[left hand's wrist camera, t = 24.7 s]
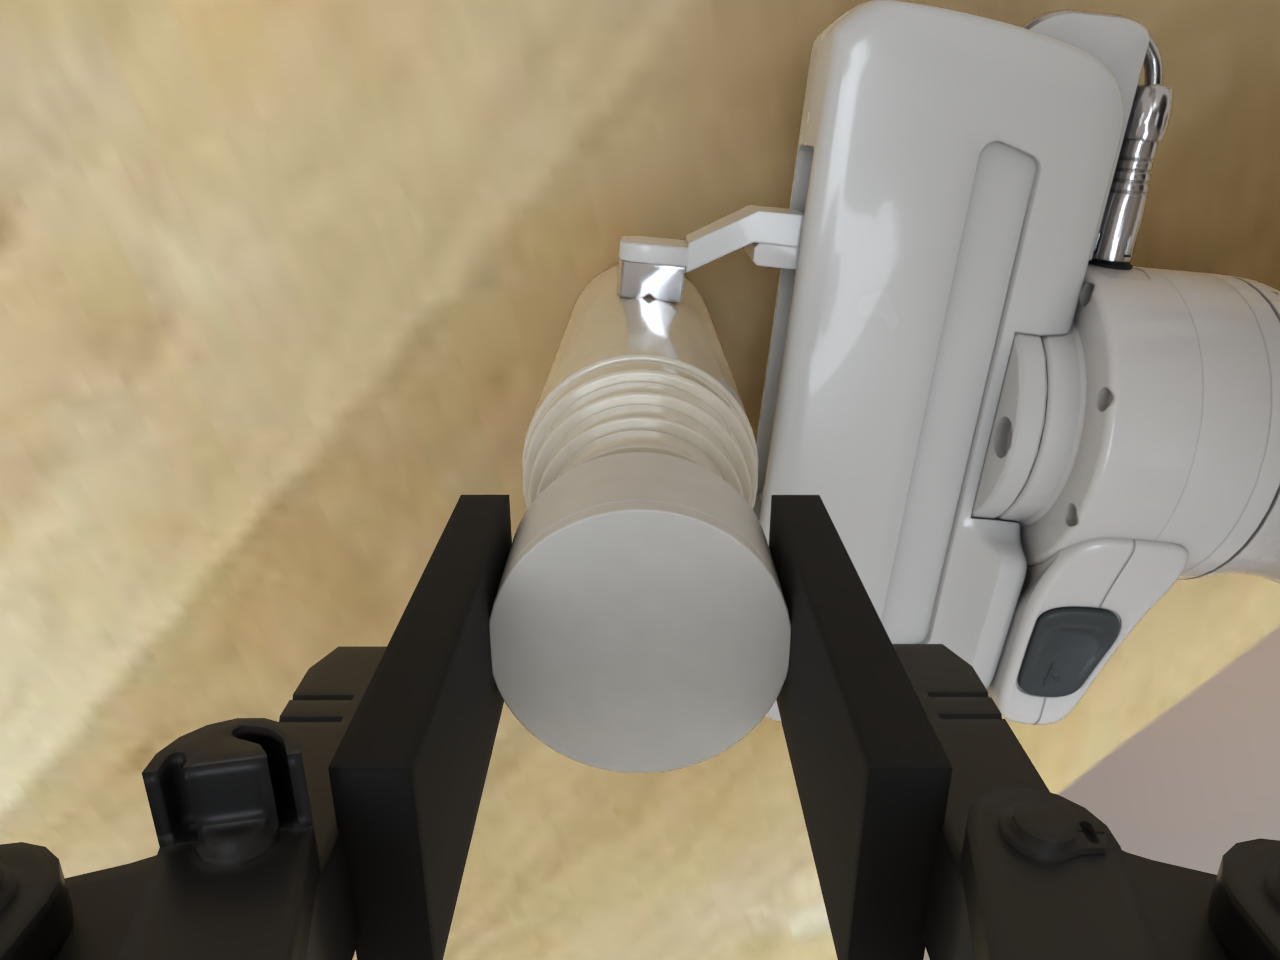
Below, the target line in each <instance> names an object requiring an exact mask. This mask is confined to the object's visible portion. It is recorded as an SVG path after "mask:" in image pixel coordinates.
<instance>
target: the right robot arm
mask: <svg viewBox="0 0 1280 960" xmlns="http://www.w3.org/2000/svg"><path fill="white" fill-rule="evenodd" d="M1143 65H1144V71H1145V85H1138V82H1139V79H1140V75H1141V71H1142V67H1143ZM1162 82H1163V65H1162V58H1161V54H1160V51H1159V49H1158V46H1157V44H1156V42H1155V41H1154V39H1153V37H1152V36H1151V35H1150V33H1149V32H1148V31H1147V29H1146V28H1145V27H1144V26H1142V25H1141V24H1139V23H1137V22H1136V21H1134V20H1133V19H1130V18H1127V17H1124V16H1121V15H1116V14H1106V13H1096V12H1086V11H1076V10H1057V11H1053V12H1049V13H1045V14H1043V15H1040V16H1038V17H1036V18H1034V19H1032V20H1031V21H1029V22H1027V23H1026V24H1024V25H1023V26H1022V27H1019V26H1016V25H1012V24H1008V23H1005V22H1001V21H998V20H994V19H990V18H986V17H982V16H978V15H974V14H969V13H965V12H961V11H956V10H951V9H946V8H941V7H935V6H929V5H923V4H917V3H911V2H904V1H895V0H873V1H868V2H864V3H862V4H859V5H857V6H855V7H853V8H852V9H850V10H849V11H847V12H845V13H844V14H843V15H842V16H840V17H839V18H838V19H836V20H835V21H834V22H833V23H832V24H831V25H830V26H829V27H827V28H826V29H825V30H824V31H823V32H822V33H821V34H820V35H819V36H818V37H817V39H816V40H815V42H814V44H813V48H812V52H811V58H810V65H809V72H808V79H807V86H806V93H805V100H804V107H803V114H802V121H801V128H800V135H799V142H798V149H797V156H796V163H795V170H794V177H793V184H792V191H791V198H790V205H789V208H779V207H767V206H755V205H748V206H746V207H744V208H742V209H740V210H737V211H735V212H733V213H731V214H729V215H727V216H725V217H723V218H721V219H719V220H717V221H715V222H713V223H711V224H708V225H706V226H704V227H702V228H700V229H698V230H696V231H694V232H692V233H690V234H688V235H686V236H685V240H679V239H668V238H657V237H646V236H621V240H620V251H619V262H618V279H617V295H619V296H622V297H627V298H643V297H645V296H646V295H648V294H650V295H651V296H652V297H654V298H655V299H657V300H661V301H669V302H681V301H682V293H683V285H684V277H685V270H686V272H690V271H692V270H694V269H696V268H698V267H701V266H703V265H705V264H707V263H709V262H712V261H714V260H716V259H718V258H720V257H723V256H725V255H727V254H729V253H731V252H734V251H736V250H738V249H740V248H742V247H745V250H744V251H745V252H746V254H747V255H748V256H749V258H750V259H751V260H752V261H753V262H754V263H755V264H756V265H757V266H765V267H774V268H781V269H780V276H779V283H778V290H777V297H776V304H775V311H774V318H773V325H772V332H771V339H770V346H769V353H768V360H767V367H766V374H765V382H764V389H763V396H762V403H761V410H760V417H759V424H758V431H757V438H756V445H757V454H758V487H757V495H756V500H755V505H754V508H753V511H754V513H755V515H756V517H757V518H758V520H759V522H760V524H761V526H762V529H763V531H764V534H765V537H766V540H767V543H768V546H769V531H770V514H771V496H772V495H820V497H821V499H822V501H823V503H824V505H825V507H826V509H827V512H828V514H829V516H830V518H831V520H832V522H833V524H834V526H835V528H836V530H837V532H838V534H839V536H840V538H841V540H842V542H843V544H844V546H845V548H846V550H847V553H848V555H849V557H850V559H851V561H852V563H853V565H854V567H855V569H856V571H857V573H858V575H859V577H860V579H861V581H862V583H863V585H864V587H865V589H866V591H867V593H868V596H869V598H870V600H871V602H872V604H873V606H874V608H875V610H876V612H877V614H878V616H879V618H880V620H881V622H882V624H883V626H884V628H885V630H886V632H887V634H888V637H889V639H890V641H891V643H892V644H943V645H945V646H946V647H947V648H949V649H950V650H951V651H953V652H954V653H955V654H957V655H958V656H959V657H961V658H962V659H963V660H965V661H966V662H967V663H969V664H970V665H971V666H972V667H973V668H974V670H975V671H976V673H977V675H978V676H979V678H980V680H981V681H982V683H983V684H984V686H985V688H986V689H987V691H988V697H992V699H993V701H994V702H995V704H996V706H997V707H998V709H999V710H1000V712H1001V714H1002V715H1003V716H1004V717H1005V718H1006V719H1008V720H1011V721H1013V722H1018V723H1023V724H1032V725H1033V724H1034V725H1046V724H1052V723H1055V722H1057V721H1059V720H1061V719H1063V718H1064V717H1065V716H1066V715H1067V714H1068V713H1070V712H1071V710H1072V709H1073V708H1074V707H1075V706H1076V704H1077V703H1078V702H1079V700H1080V699H1081V698H1082V696H1083V695H1084V693H1085V692H1086V690H1087V689H1088V688H1089V686H1090V685H1091V683H1092V682H1093V680H1094V679H1095V678H1096V676H1097V675H1098V673H1099V672H1100V671H1101V669H1102V668H1103V667H1104V665H1105V664H1106V662H1107V661H1108V660H1109V658H1110V657H1111V656H1112V655H1113V653H1114V652H1115V651H1116V649H1117V648H1118V647H1119V645H1120V644H1121V643H1122V642H1123V640H1124V639H1125V638H1126V637H1127V635H1128V634H1129V633H1130V632H1131V630H1132V629H1133V628H1134V627H1135V626H1136V624H1137V623H1138V622H1139V621H1140V620H1141V619H1142V617H1143V616H1144V615H1145V614H1146V613H1147V612H1148V611H1149V609H1150V608H1151V607H1152V606H1153V605H1154V604H1155V603H1156V602H1157V601H1158V600H1159V599H1160V598H1161V597H1162V596H1163V595H1164V594H1165V593H1166V592H1167V591H1168V590H1169V589H1170V588H1171V587H1172V586H1173V584H1174V583H1175V582H1176V581H1177V579H1193V578H1201V577H1207V576H1213V575H1223V574H1249V575H1254V576H1259V577H1263V578H1266V579H1270V580H1272V581H1275V582H1278V583H1280V291H1279V290H1276V289H1274V288H1272V287H1270V286H1267V285H1265V284H1263V283H1260V282H1257V281H1255V280H1251V279H1246V278H1242V277H1237V276H1232V275H1220V274H1212V273H1201V272H1189V271H1178V270H1167V269H1156V268H1145V267H1136V266H1133V265H1130V262H1131V258H1132V254H1133V251H1134V247H1135V244H1136V240H1137V236H1138V233H1139V229H1140V225H1141V222H1142V218H1143V214H1144V210H1145V206H1146V201H1147V197H1148V196H1147V195H1146V193H1148V189H1149V185H1148V182H1150V176H1151V174H1150V171H1152V166H1153V162H1152V161H1153V160H1154V159H1155V155H1156V152H1157V149H1158V145H1159V142H1162V141H1163V139H1164V136H1165V134H1166V131H1167V128H1168V125H1169V121H1170V117H1171V112H1172V105H1173V89H1172V88H1171V87H1169V86H1162ZM764 717H766V718H769V719H771V720H776V721H780V722H781V717H780V713H779V709H778V705H777V701H776V700H775V702H774V704H773V705H772V707H771V709H770V710H769V711H768V713H767V714H766V715H765V716H764Z"/></svg>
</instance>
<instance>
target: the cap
mask: <svg viewBox="0 0 1280 960" xmlns="http://www.w3.org/2000/svg"><path fill="white" fill-rule="evenodd" d="M489 626H490V643H491V657H492V671H493V676H494V679H495V682H496V685H497V687H498V689H499V691H500V693H501V695H502V697H503V699H504V701H505V703H506V704H507V706H508V707H509V709H510V710H511V711H512V713H513V714H514V716H515V717H516V718H517V719H518V720H519V721H520V723H521V724H522V725H523V726H524V727H525V728H526V729H527V730H528V731H529V732H530V733H532V734H533V735H534V736H535V737H536V738H538V739H539V740H540V741H541V742H543V743H544V744H546V745H547V746H549V747H550V748H552V749H553V750H555V751H556V752H558V753H560V754H562V755H564V756H567V757H569V758H571V759H573V760H575V761H578V762H581V763H584V764H586V765H589V766H593V767H597V768H601V769H605V770H610V771H618V772H626V773H652V772H664V771H669V770H674V769H679V768H684V767H687V766H690V765H693V764H697V763H700V762H702V761H704V760H707V759H709V758H711V757H713V756H716V755H718V754H719V753H721V752H723V751H725V750H726V749H728V748H730V747H731V746H733V745H734V744H736V743H737V742H738V741H740V740H741V739H742V738H744V737H745V736H746V735H747V734H748V733H749V732H750V731H751V730H753V729H754V728H755V727H756V726H757V725H758V724H759V723H760V721H761V720H762V719H763V718H764V716H765V715H766V714H767V713H768V711H769V710H770V709H771V707H772V705H773V704H774V702H775V700H776V699H777V697H778V695H779V693H780V691H781V689H782V686H783V684H784V681H785V679H786V676H787V672H788V665H789V652H790V636H791V622H790V617H789V612H788V608H787V605H786V601H785V598H784V595H783V592H782V588H781V585H780V582H779V579H778V575H777V572H776V569H775V566H774V562H773V559H772V556H771V553H770V549H769V546H768V543H767V540H766V537H765V534H764V531H763V529H762V526H761V524H760V522H759V520H758V518H757V517H756V515H755V513H754V511H753V510H752V508H751V507H750V506H749V504H748V503H747V502H746V500H745V499H744V498H743V497H742V496H741V495H740V494H739V493H738V492H737V491H736V489H735V488H734V487H733V486H731V485H730V484H729V483H728V482H726V481H725V480H724V479H722V478H721V477H720V476H719V475H717V474H715V473H713V472H712V471H710V470H708V469H706V468H705V467H703V466H700V465H698V464H696V463H693V462H691V461H689V460H686V459H682V458H678V457H675V456H671V455H666V454H659V453H651V452H630V453H621V454H614V455H609V456H605V457H601V458H597V459H595V460H592V461H589V462H586V463H584V464H581V465H579V466H577V467H576V468H574V469H572V470H570V471H568V472H566V473H565V474H563V475H562V476H560V477H559V478H558V479H556V480H555V481H553V482H552V483H551V484H550V485H549V486H548V487H547V488H545V489H544V490H543V491H542V492H541V493H540V494H539V495H538V497H537V498H536V499H535V500H534V501H533V503H532V504H531V505H530V506H529V508H528V510H527V511H526V513H525V515H524V516H523V518H522V519H521V522H520V524H519V526H518V529H517V531H516V533H515V536H514V539H513V543H512V546H511V549H510V552H509V555H508V559H507V562H506V565H505V568H504V572H503V575H502V578H501V581H500V584H499V588H498V591H497V594H496V597H495V601H494V604H493V608H492V612H491V615H490V619H489Z"/></svg>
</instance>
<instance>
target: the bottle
mask: <svg viewBox="0 0 1280 960" xmlns="http://www.w3.org/2000/svg"><path fill="white" fill-rule="evenodd" d="M617 279H618V265H616V266H614V267H612V268H609V269H607V270H605V271H604V272H602V273H601V274H599V275H598V276H596V277H595V278H594V279H593V280H592V281H591V282H590V283H589V284H588V285H587V286H586V287H585V288H584V290H583V291H582V293H581V294H580V295H579V297H578V299H577V301H576V303H575V306H574V308H573V311H572V314H571V316H570V319H569V322H568V324H567V327H566V330H565V332H564V335H563V338H562V340H561V343H560V346H559V348H558V351H557V354H556V356H555V359H554V362H553V364H552V367H551V370H550V372H549V375H548V378H547V380H546V383H545V386H544V388H543V391H542V394H541V396H540V399H539V402H538V404H537V407H536V410H535V412H534V415H533V418H532V420H531V423H530V426H529V428H528V431H527V434H526V438H525V442H524V447H523V456H522V473H523V474H522V483H523V494H524V499H525V504H526V508H527V510H528V508H529V506H530V505H531V504H532V503H533V501H534V500H535V499H536V498H537V497H538V495H539V494H540V493H541V492H542V491H543V490H544V489H545V488H547V487H548V486H549V485H550V484H551V483H552V482H553V481H555V480H556V479H558V478H559V477H560V476H562V475H563V474H565V473H566V472H568V471H570V470H572V469H574V468H576V467H577V466H579V465H581V464H584V463H586V462H589V461H592V460H595V459H597V458H601V457H605V456H609V455H614V454H621V453H630V452H651V453H659V454H666V455H671V456H675V457H678V458H682V459H686V460H689V461H691V462H693V463H696V464H698V465H700V466H703V467H705V468H706V469H708V470H710V471H712V472H713V473H715V474H717V475H719V476H720V477H721V478H722V479H724V480H725V481H726V482H728V483H729V484H730V485H731V486H733V487H734V488H735V489H736V491H737V492H738V493H739V494H740V495H741V496H742V497H743V498H744V499H745V500H746V502H747V503H748V504H749V506H750V507H751V508H752V510H753V508H754V505H755V500H756V495H757V487H758V454H757V445H756V441H755V437H754V433H753V430H752V427H751V425H750V422H749V419H748V417H747V414H746V411H745V409H744V406H743V403H742V401H741V398H740V395H739V392H738V390H737V387H736V384H735V382H734V379H733V376H732V374H731V371H730V368H729V366H728V363H727V360H726V358H725V355H724V352H723V350H722V347H721V344H720V341H719V339H718V336H717V333H716V331H715V328H714V325H713V323H712V320H711V317H710V315H709V312H708V309H707V307H706V304H705V302H704V300H703V298H702V296H701V295H700V293H699V292H698V290H697V289H696V288H695V286H694V285H693V284H692V283H691V282H690V281H689V280H688V279H687V278H685V277H684V285H683V293H682V301H681V302H669V301H661V300H657V299H655V298H654V297H652V296H651V295H650V294H648V295H646V296H645V297H643V298H627V297H622V296H619V295H617Z"/></svg>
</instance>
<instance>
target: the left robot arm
mask: <svg viewBox="0 0 1280 960" xmlns="http://www.w3.org/2000/svg"><path fill="white" fill-rule="evenodd" d="M511 546H512V538H511V520H510V503H509V495H461V496H460V498H459V501H458V503H457V505H456V507H455V509H454V511H453V513H452V515H451V517H450V519H449V521H448V523H447V525H446V527H445V529H444V531H443V533H442V535H441V537H440V539H439V542H438V544H437V546H436V548H435V550H434V552H433V554H432V556H431V558H430V560H429V562H428V564H427V566H426V568H425V570H424V572H423V574H422V576H421V578H420V580H419V583H418V585H417V587H416V589H415V591H414V593H413V595H412V597H411V599H410V601H409V603H408V605H407V607H406V609H405V611H404V613H403V615H402V617H401V619H400V621H399V624H398V626H397V628H396V630H395V632H394V634H393V636H392V638H391V640H390V642H389V644H388V646H387V647H338V648H336V649H335V650H334V651H332V652H331V653H330V654H328V655H327V656H326V657H324V658H323V659H322V660H320V661H319V662H318V663H316V664H315V665H314V666H312V667H311V668H310V669H309V670H308V671H307V673H306V675H305V676H304V678H303V679H302V681H301V683H300V684H299V686H298V688H297V689H296V691H295V692H294V694H293V700H290V701H289V702H288V704H287V706H286V707H285V709H284V710H283V712H282V714H281V715H280V721H279V722H276V721H273V720H269V719H266V718H237V719H233V720H228V721H224V722H219V723H215V724H210V725H207V726H204V727H202V728H200V729H197V730H195V731H193V732H191V733H188V734H186V735H184V736H181V737H179V738H178V739H176V740H175V741H174V742H172V743H171V744H169V745H168V746H167V747H165V748H164V749H162V750H161V751H160V752H158V753H157V754H156V755H155V756H154V758H153V759H152V760H151V762H150V763H149V764H148V766H147V767H146V768H145V769H144V771H143V772H142V776H143V780H144V784H145V788H146V792H147V796H148V800H149V805H150V809H151V813H152V817H153V821H154V825H155V829H156V833H157V837H158V841H159V845H160V849H159V851H158V854H157V855H156V856H153V857H150V858H147V859H143V860H140V861H137V862H133V863H130V864H126V865H122V866H117V867H113V868H109V869H104V870H100V871H96V872H91V873H87V874H83V875H78V876H74V877H70V878H66V879H64V875H63V872H62V869H61V865H60V862H59V859H58V858H57V857H56V856H55V855H54V854H52V853H51V852H50V851H49V850H48V849H47V848H46V847H43V846H38V845H33V844H28V843H23V842H20V843H11V844H2V845H0V960H352V959H353V956H354V953H355V950H356V954H357V960H443V956H444V952H445V948H446V943H447V939H448V935H449V931H450V926H451V922H452V918H453V914H454V910H455V905H456V901H457V897H458V893H459V889H460V884H461V880H462V876H463V872H464V867H465V863H466V859H467V855H468V851H469V846H470V842H471V838H472V834H473V830H474V825H475V821H476V817H477V813H478V808H479V804H480V800H481V796H482V792H483V787H484V783H485V779H486V775H487V771H488V766H489V762H490V758H491V754H492V749H493V745H494V741H495V737H496V733H497V728H498V724H499V720H500V716H501V712H502V707H503V703H504V699H503V697H502V695H501V693H500V691H499V689H498V687H497V685H496V682H495V679H494V676H493V671H492V657H491V643H490V626H489V619H490V615H491V612H492V608H493V604H494V601H495V597H496V594H497V591H498V588H499V584H500V581H501V578H502V575H503V572H504V568H505V565H506V562H507V559H508V555H509V552H510V549H511ZM769 549H770V553H771V556H772V559H773V562H774V566H775V569H776V572H777V575H778V579H779V582H780V585H781V588H782V592H783V595H784V598H785V601H786V605H787V608H788V612H789V617H790V622H791V636H790V652H789V665H788V672H787V676H786V679H785V681H784V684H783V686H782V689H781V691H780V693H779V695H778V697H777V699H776V701H777V705H778V709H779V713H780V717H781V722H782V726H783V730H784V734H785V739H786V743H787V747H788V751H789V755H790V760H791V764H792V768H793V772H794V776H795V781H796V785H797V789H798V793H799V798H800V802H801V806H802V810H803V814H804V819H805V823H806V827H807V831H808V835H809V840H810V844H811V848H812V852H813V857H814V861H815V865H816V869H817V873H818V878H819V882H820V886H821V890H822V894H823V899H824V903H825V907H826V911H827V916H828V920H829V924H830V928H831V932H832V937H833V941H834V945H835V949H836V953H837V958H838V960H923V958H924V951H925V947H926V949H927V952H928V955H929V958H930V960H1280V841H1277V840H1268V839H1256V840H1250V841H1245V842H1240V843H1236V844H1235V845H1234V846H1233V847H1232V848H1231V849H1230V850H1229V851H1228V852H1226V853H1225V854H1224V855H1223V858H1222V861H1221V865H1220V868H1219V871H1218V874H1217V875H1214V874H1210V873H1205V872H1201V871H1197V870H1192V869H1188V868H1183V867H1179V866H1175V865H1171V864H1166V863H1162V862H1158V861H1153V860H1150V859H1146V858H1143V857H1140V856H1136V855H1133V854H1130V853H1127V852H1125V851H1122V850H1121V847H1120V845H1119V844H1118V842H1117V841H1116V839H1115V838H1114V836H1113V835H1112V833H1111V832H1110V830H1109V828H1108V827H1107V826H1106V825H1105V824H1104V823H1103V822H1101V821H1100V820H1099V819H1098V818H1096V817H1095V816H1094V815H1093V814H1092V813H1090V812H1089V811H1088V810H1087V809H1085V808H1084V807H1082V806H1080V805H1078V804H1076V803H1074V802H1072V801H1070V800H1067V799H1065V798H1063V797H1061V796H1059V795H1057V794H1053V793H1050V791H1049V790H1048V788H1047V787H1046V785H1045V783H1044V782H1043V780H1042V778H1041V777H1040V775H1039V774H1038V772H1037V770H1036V769H1035V767H1034V766H1033V764H1032V762H1031V761H1030V759H1029V757H1028V756H1027V754H1026V753H1025V751H1024V749H1023V748H1022V746H1021V744H1020V743H1019V741H1018V740H1017V738H1016V736H1015V735H1014V733H1013V731H1012V730H1011V728H1010V727H1009V725H1008V723H1007V722H1006V720H1005V719H1002V717H1001V712H1000V710H999V709H998V707H997V706H996V704H995V702H994V701H993V699H992V697H988V691H987V689H986V688H985V686H984V684H983V683H982V681H981V680H980V678H979V676H978V675H977V673H976V671H975V670H974V668H973V667H972V666H971V665H970V664H969V663H967V662H966V661H965V660H963V659H962V658H961V657H959V656H958V655H957V654H955V653H954V652H953V651H951V650H950V649H949V648H947V647H946V646H945V645H943V644H892V643H891V641H890V639H889V637H888V634H887V632H886V630H885V628H884V626H883V624H882V622H881V620H880V618H879V616H878V614H877V612H876V610H875V608H874V606H873V604H872V602H871V600H870V598H869V596H868V593H867V591H866V589H865V587H864V585H863V583H862V581H861V579H860V577H859V575H858V573H857V571H856V569H855V567H854V565H853V563H852V561H851V559H850V557H849V555H848V553H847V550H846V548H845V546H844V544H843V542H842V540H841V538H840V536H839V534H838V532H837V530H836V528H835V526H834V524H833V522H832V520H831V518H830V516H829V514H828V512H827V509H826V507H825V505H824V503H823V501H822V499H821V497H820V495H772V496H771V514H770V531H769Z"/></svg>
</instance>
